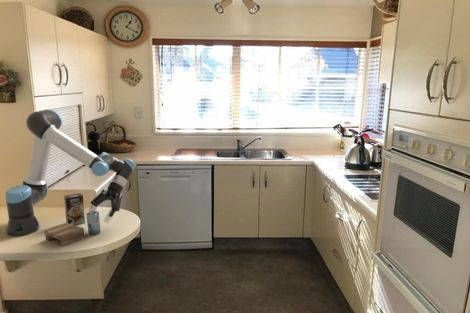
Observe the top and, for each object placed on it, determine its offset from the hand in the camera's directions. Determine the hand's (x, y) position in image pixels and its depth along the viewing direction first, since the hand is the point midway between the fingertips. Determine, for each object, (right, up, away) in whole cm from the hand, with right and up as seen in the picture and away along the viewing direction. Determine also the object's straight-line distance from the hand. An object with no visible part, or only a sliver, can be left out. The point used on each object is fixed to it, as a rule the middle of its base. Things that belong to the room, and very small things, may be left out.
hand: (96, 219), depth 186 cm
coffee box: (-17, -5, +15) cm, 23 cm away
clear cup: (-1, -7, +1) cm, 7 cm away
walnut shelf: (-14, -9, -6) cm, 17 cm away
